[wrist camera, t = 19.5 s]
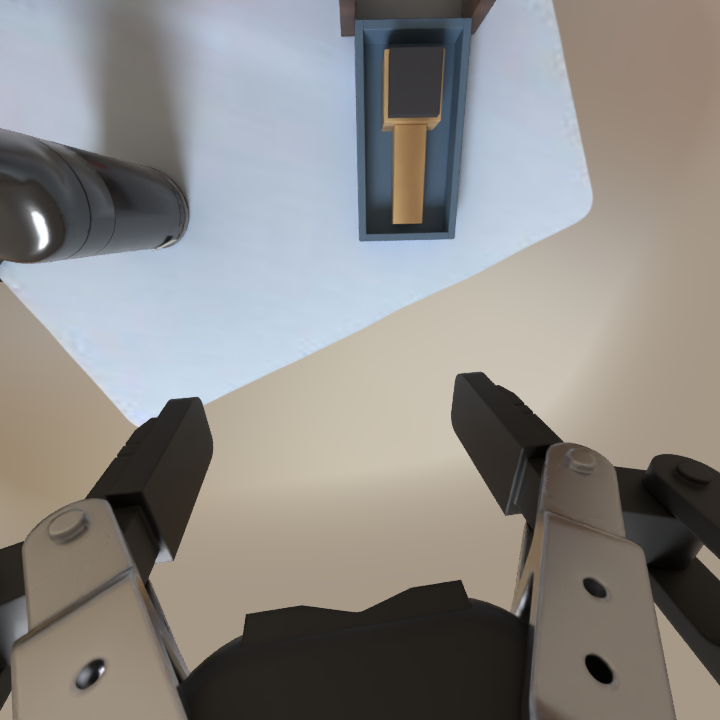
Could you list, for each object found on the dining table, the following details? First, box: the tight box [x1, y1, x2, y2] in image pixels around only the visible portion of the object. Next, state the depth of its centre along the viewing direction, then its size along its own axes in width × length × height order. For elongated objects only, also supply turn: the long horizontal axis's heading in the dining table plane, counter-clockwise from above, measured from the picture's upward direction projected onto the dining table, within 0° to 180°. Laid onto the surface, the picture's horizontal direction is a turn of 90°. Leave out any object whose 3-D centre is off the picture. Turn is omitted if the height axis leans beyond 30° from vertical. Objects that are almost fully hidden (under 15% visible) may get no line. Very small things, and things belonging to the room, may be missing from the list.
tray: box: [355, 18, 472, 241], centre depth 38 cm, size 12×21×4 cm, turn 1°
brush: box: [381, 47, 445, 224], centre depth 37 cm, size 6×16×5 cm, turn 1°
